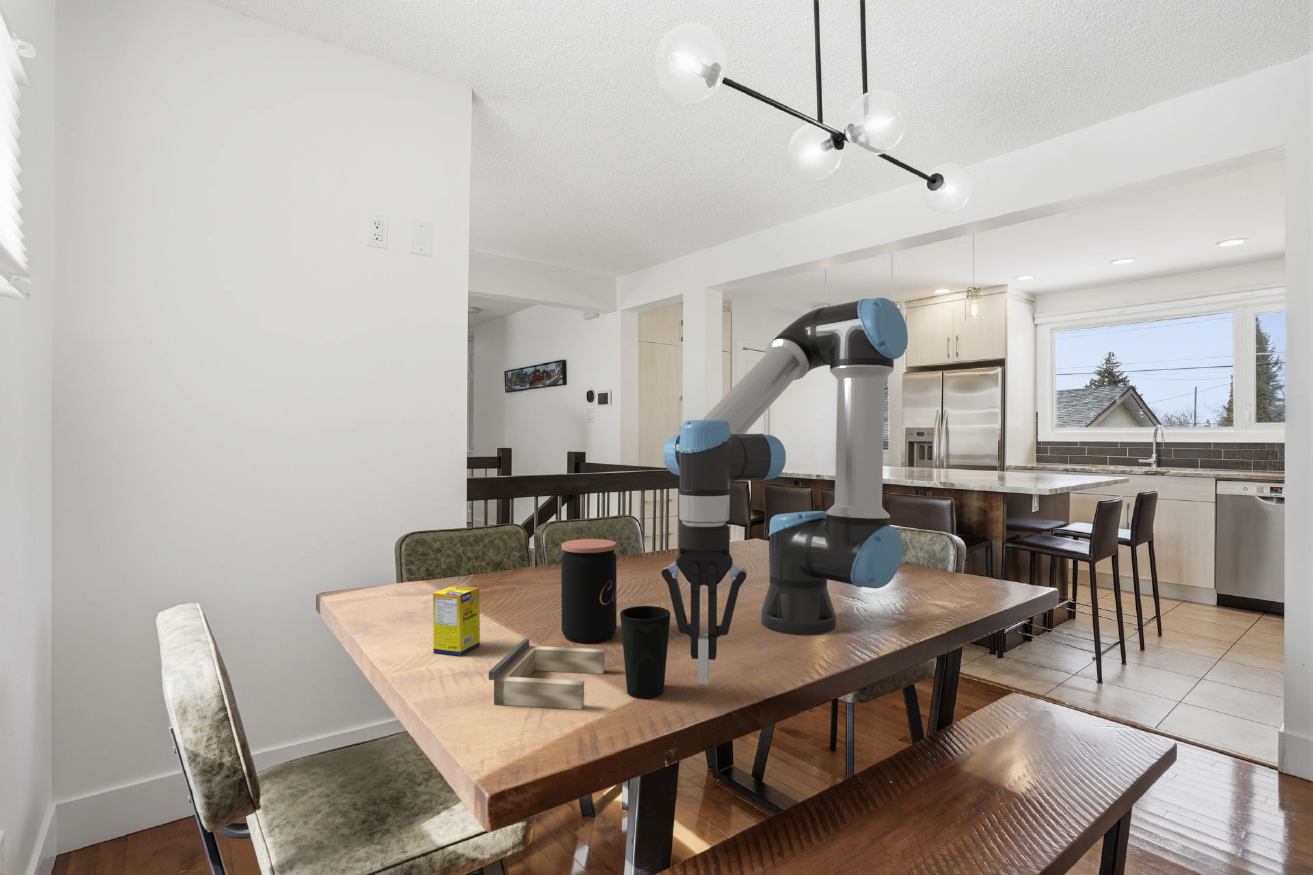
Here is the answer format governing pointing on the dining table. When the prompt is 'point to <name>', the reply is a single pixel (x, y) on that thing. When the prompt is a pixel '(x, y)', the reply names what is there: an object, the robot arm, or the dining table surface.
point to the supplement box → (456, 620)
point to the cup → (645, 649)
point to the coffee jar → (589, 590)
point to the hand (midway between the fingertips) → (703, 680)
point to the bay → (544, 692)
